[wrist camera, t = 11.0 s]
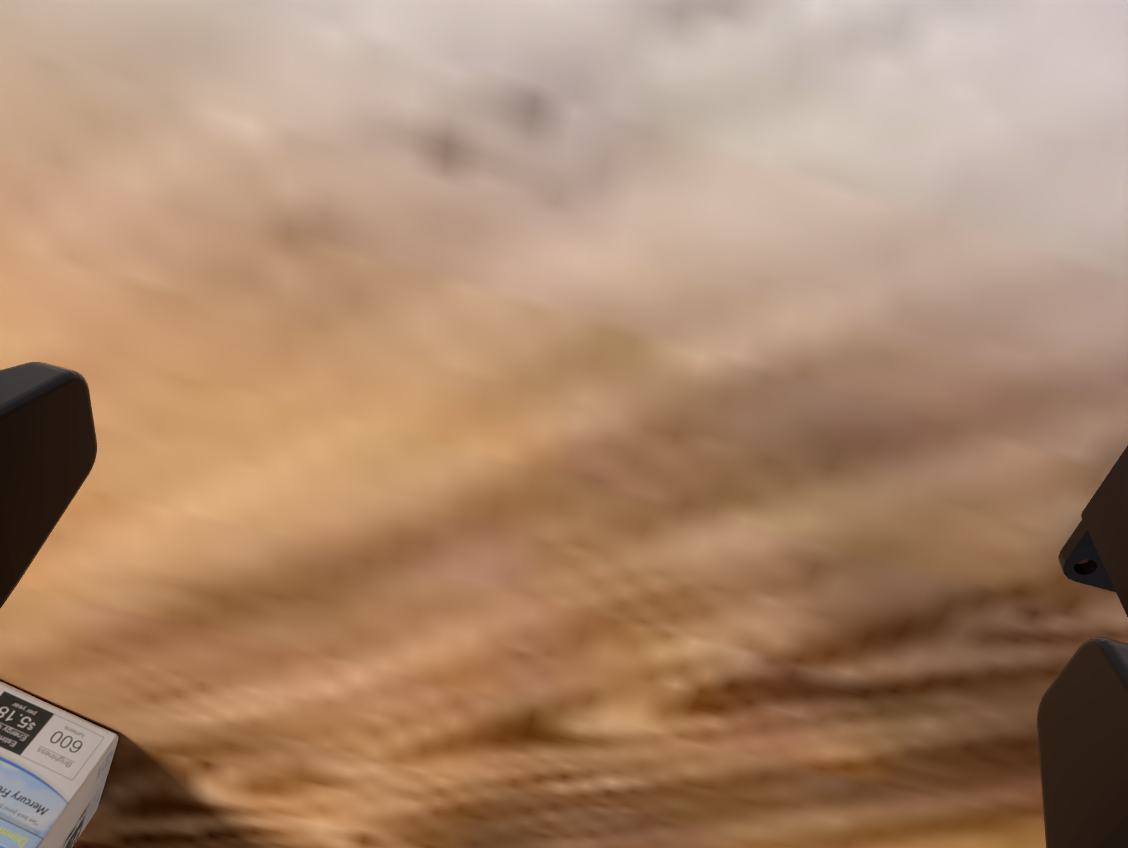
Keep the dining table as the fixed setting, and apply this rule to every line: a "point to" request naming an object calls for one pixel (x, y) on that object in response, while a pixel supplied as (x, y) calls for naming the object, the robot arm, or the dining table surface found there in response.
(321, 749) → the dining table surface
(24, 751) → the light bulb box
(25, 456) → the robot arm
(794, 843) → the dining table surface
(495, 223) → the dining table surface
